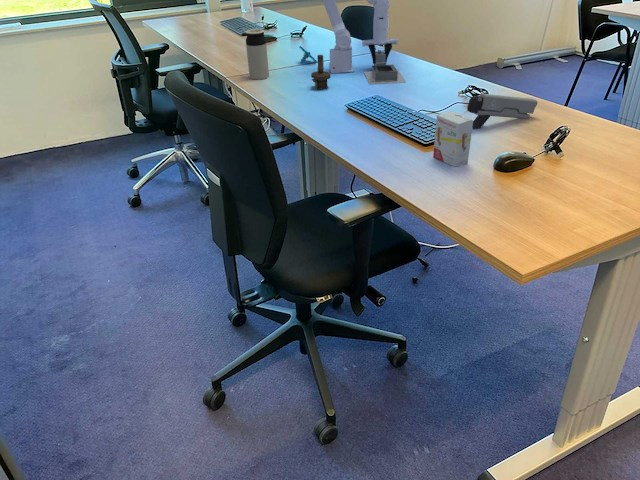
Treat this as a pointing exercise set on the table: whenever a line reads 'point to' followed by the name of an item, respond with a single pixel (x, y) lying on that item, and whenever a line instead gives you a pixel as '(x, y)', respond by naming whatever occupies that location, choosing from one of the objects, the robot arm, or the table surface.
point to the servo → (380, 58)
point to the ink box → (452, 138)
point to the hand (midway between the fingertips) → (379, 63)
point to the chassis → (384, 75)
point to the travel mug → (257, 54)
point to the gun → (499, 107)
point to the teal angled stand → (306, 55)
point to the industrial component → (320, 75)
